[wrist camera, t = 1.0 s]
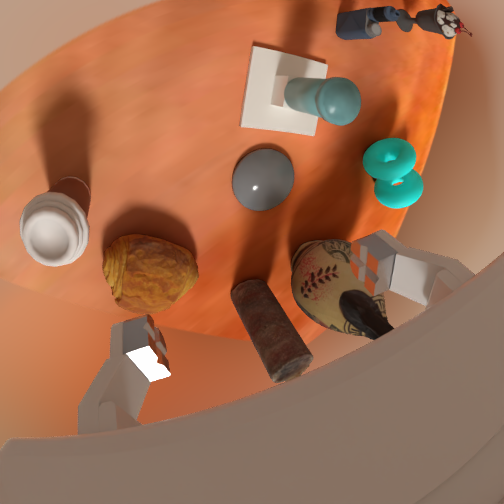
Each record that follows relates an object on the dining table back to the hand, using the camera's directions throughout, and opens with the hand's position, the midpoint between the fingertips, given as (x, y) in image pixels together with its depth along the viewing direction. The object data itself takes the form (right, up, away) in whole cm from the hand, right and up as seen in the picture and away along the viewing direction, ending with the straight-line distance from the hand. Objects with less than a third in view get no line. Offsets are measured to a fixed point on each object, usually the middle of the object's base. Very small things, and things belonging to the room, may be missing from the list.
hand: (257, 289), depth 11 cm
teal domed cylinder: (+6, +22, +22) cm, 32 cm away
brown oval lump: (-18, -1, +34) cm, 39 cm away
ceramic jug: (+11, +1, +45) cm, 47 cm away
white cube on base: (+4, +24, +26) cm, 36 cm away
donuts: (+23, +18, +39) cm, 49 cm away
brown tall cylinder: (-1, -6, +45) cm, 45 cm away
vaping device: (+14, +37, +22) cm, 45 cm away
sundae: (+28, +44, +23) cm, 57 cm away
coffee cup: (-26, +9, +23) cm, 36 cm away
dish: (+1, +13, +33) cm, 35 cm away
